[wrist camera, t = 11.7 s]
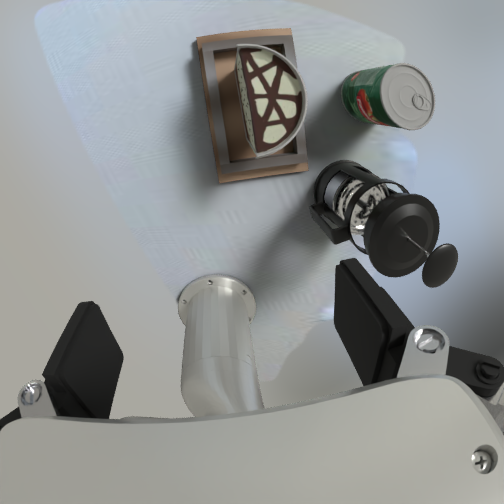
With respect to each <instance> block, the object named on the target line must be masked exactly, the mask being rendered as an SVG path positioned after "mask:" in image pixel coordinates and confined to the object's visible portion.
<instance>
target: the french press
mask: <svg viewBox="0 0 504 504" xmlns="http://www.w3.org/2000/svg"><path fill="white" fill-rule="evenodd" d="M340 171H342V172H344V173H346V174H348V175H350V176H349V177H348V178H347V179H345V180H344V181H343V182H342V183H341V185H340V186H339V188H338V189H337V191H336V193H335V195H334V199H333V205H332V209H331V208H330V207H329V206H328V205H327V204H326V203H325V201H324V195H325V190H326V188H327V185H328V183H329V182H330V180H331V179H332V178H333V177H334V176H335V175H336V174H337V173H338V172H340ZM385 183H392V184H396V185H397V186H398V187H399V188H401V190H402V191H403V193H397V192H395V191H393V190H391V189H390V188H388V187H387V186H386V184H385ZM314 199H315V203H316V204H313V205H311V206H309V209H310V212H311V216H312V218H313V220H314V221H315V222H316V223H317V224H318V225H319V227H320V228H321V229H322V230H323V231H324V233H325V234H326V235H327V236H328V237H329V239H330V240H331V241H332V242H333V243H334V244H339V243H342V242H344V241H347V240H350V241H351V242H352V243H353V244H354V246H355V247H356V248H357V249H358V250H359V251H361V252H362V253H364V254H367V255H369V259H370V261H371V263H372V265H373V266H374V267H375V269H376V270H377V271H378V272H380V273H381V274H383V275H385V276H388V277H401V276H405V275H407V274H410V273H411V272H413V271H415V270H416V269H418V268H419V267H420V266H421V265H422V264H423V263H424V262H425V261H426V262H425V264H424V267H423V271H422V279H423V282H424V284H425V285H426V286H428V287H432V288H433V287H438V286H440V285H442V284H443V283H445V282H446V281H447V280H448V279H449V278H450V277H451V275H452V274H453V272H454V270H455V268H456V265H457V262H458V253H457V250H456V248H455V247H454V246H453V245H452V244H443V245H441V246H439V247H437V248H436V249H435V250H434V251H433V249H434V247H435V245H436V242H437V239H438V234H439V216H438V213H437V210H436V208H435V207H434V205H433V204H432V203H431V202H430V201H429V200H428V199H427V198H425V197H423V196H421V195H417V194H410V193H409V192H408V191H407V190H406V189H405V188H404V187H403V186H402V185H400V184H398V183H396V182H394V181H392V180H388V179H381V178H379V177H378V176H376V175H374V174H373V173H372V172H370V171H369V170H368V169H366V168H364V167H362V166H361V165H360V164H358V163H356V162H354V161H349V160H341V161H336V162H334V163H332V164H330V165H329V166H327V167H326V168H325V169H324V170H323V171H322V172H321V173H320V175H319V176H318V178H317V181H316V183H315V187H314ZM322 214H323V215H324V216H325V217H326V218H328V219H330V220H331V221H332V222H333V223H334V224H336V225H337V226H338V227H339V228H337V229H332V228H331V227H330V226H329V225H328V224H327V223H326V222H325V220H324V219H323V218H322V217H321V216H320V215H322ZM351 234H353V235H362V236H363V237H364V245H365V249H364V248H361V247H359V246H357V245H356V244H355V242H354V240H353V238H352V235H351ZM432 251H433V252H432Z"/></svg>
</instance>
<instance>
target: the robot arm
mask: <svg viewBox="0 0 504 504" xmlns="http://www.w3.org/2000/svg"><path fill="white" fill-rule="evenodd" d="M209 280H211V281H209ZM178 312H179V316H180V319H181V320H182V322H183V324H184V325H185V326H186V329H185V339H184V350H183V362H182V375H181V393H182V396H183V399H184V402H185V404H186V405H187V407H188V409H189V410H190V411H191V413H192V414H193V415H194V416H195V417H190V418H176V419H169V418H153V417H125V418H121V419H109V415H110V411H111V406H112V403H113V398H114V394H115V390H116V386H117V382H118V378H119V374H120V371H121V367H122V363H123V353H122V351H121V349H120V347H119V345H118V343H117V341H116V339H115V338H114V336H113V334H112V332H111V330H110V328H109V326H108V324H107V322H106V320H105V318H104V316H103V314H102V312H101V310H100V307H99V306H98V305H97V304H95V303H94V302H93V301H88V302H81V303H79V304H78V306H77V308H76V309H75V311H74V313H73V315H72V316H71V318H70V320H69V322H68V324H67V326H66V328H65V329H64V331H63V333H62V335H61V337H60V339H59V341H58V343H57V345H56V347H55V349H54V351H53V353H52V355H51V357H50V359H49V361H48V363H47V365H46V367H45V369H44V371H43V374H42V375H43V377H44V378H45V382H42V381H41V380H32V381H30V382H28V383H27V384H26V385H24V386H23V388H22V389H21V390H20V392H19V395H18V405H19V407H18V408H16V409H15V410H13V411H12V412H10V413H9V414H8V415H6V416H5V417H3V418H2V419H0V504H504V367H503V365H502V364H501V363H500V362H499V361H498V360H497V359H495V358H492V357H490V356H485V355H482V354H477V353H474V352H470V351H466V350H462V349H459V348H455V347H451V346H449V339H448V337H447V335H446V334H445V333H444V332H443V331H442V330H440V329H439V328H437V327H434V326H429V325H424V326H419V327H416V328H415V327H414V326H413V325H412V323H411V322H410V321H409V320H408V318H407V317H406V316H405V315H404V313H403V312H402V311H401V310H400V308H399V307H398V306H397V304H396V303H395V302H394V301H393V299H392V298H391V297H390V296H389V295H388V293H387V292H386V291H385V290H384V289H383V288H382V287H379V286H378V284H377V283H376V282H375V281H374V279H373V278H372V277H371V276H370V275H369V273H368V272H367V271H366V270H365V269H364V267H363V266H362V265H361V264H360V263H359V261H358V260H357V259H356V258H351V259H346V260H341V261H340V265H336V269H335V305H334V324H335V328H336V330H337V332H338V334H339V336H340V338H341V340H342V342H343V344H344V346H345V348H346V350H347V352H348V354H349V356H350V358H351V360H352V362H353V365H354V367H355V369H356V371H357V373H358V375H359V377H360V379H361V381H362V383H363V387H360V388H356V389H352V390H348V391H345V392H340V393H337V394H332V395H329V396H324V397H320V398H315V399H311V400H307V401H303V402H297V403H293V404H287V405H282V406H277V407H271V408H266V409H265V408H264V405H263V401H262V396H261V391H260V386H259V380H258V374H257V368H256V362H255V356H254V350H253V344H252V338H251V332H250V324H251V323H252V321H253V319H254V317H255V313H256V302H255V298H254V296H253V293H252V292H251V290H250V289H249V287H247V286H246V285H245V284H244V283H243V282H241V281H240V280H238V279H236V278H233V277H231V276H226V275H207V276H204V277H200V278H198V279H196V280H194V281H192V282H191V283H190V284H189V285H187V286H186V288H185V289H184V290H183V292H182V293H181V295H180V299H179V304H178Z"/></svg>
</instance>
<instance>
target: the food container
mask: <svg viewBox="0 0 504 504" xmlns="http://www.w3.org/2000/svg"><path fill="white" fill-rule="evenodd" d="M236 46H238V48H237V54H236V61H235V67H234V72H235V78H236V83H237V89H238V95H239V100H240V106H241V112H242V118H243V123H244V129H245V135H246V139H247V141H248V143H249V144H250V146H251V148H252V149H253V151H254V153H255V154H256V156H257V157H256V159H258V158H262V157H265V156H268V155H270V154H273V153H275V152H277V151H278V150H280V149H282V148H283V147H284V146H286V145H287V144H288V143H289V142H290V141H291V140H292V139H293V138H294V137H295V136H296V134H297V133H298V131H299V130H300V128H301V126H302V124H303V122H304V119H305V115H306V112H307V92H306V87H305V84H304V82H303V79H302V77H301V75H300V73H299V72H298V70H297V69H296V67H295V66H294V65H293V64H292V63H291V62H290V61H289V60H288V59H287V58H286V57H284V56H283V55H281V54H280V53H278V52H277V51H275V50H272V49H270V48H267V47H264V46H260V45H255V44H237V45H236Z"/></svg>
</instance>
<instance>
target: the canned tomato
mask: <svg viewBox="0 0 504 504" xmlns="http://www.w3.org/2000/svg"><path fill="white" fill-rule="evenodd" d="M341 100H342V103H343V106H344V108H345V109H346V111H347V112H348V113H349V115H351V116H352V117H353V118H354V119H356V120H358V121H360V122H363V123H372V124H378V125H385V126H391V127H397V128H403V129H407V130H417V129H421V128H422V127H424V126H425V125H426V124H427V123H428V122H429V121H430V119H431V118H432V116H433V113H434V109H435V95H434V91H433V88H432V85H431V83H430V81H429V80H428V78H427V77H426V75H425V74H424V73H423V72H422V71H421V70H420V69H418V68H417V67H415V66H413V65H410V64H406V63H400V64H395V65H389V66H383V67H378V68H372V69H367V70H362V71H357V72H354V73H352V74H350V75H349V76H348V77H347V78H346V79H345V80H344V82H343V84H342V88H341Z"/></svg>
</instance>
